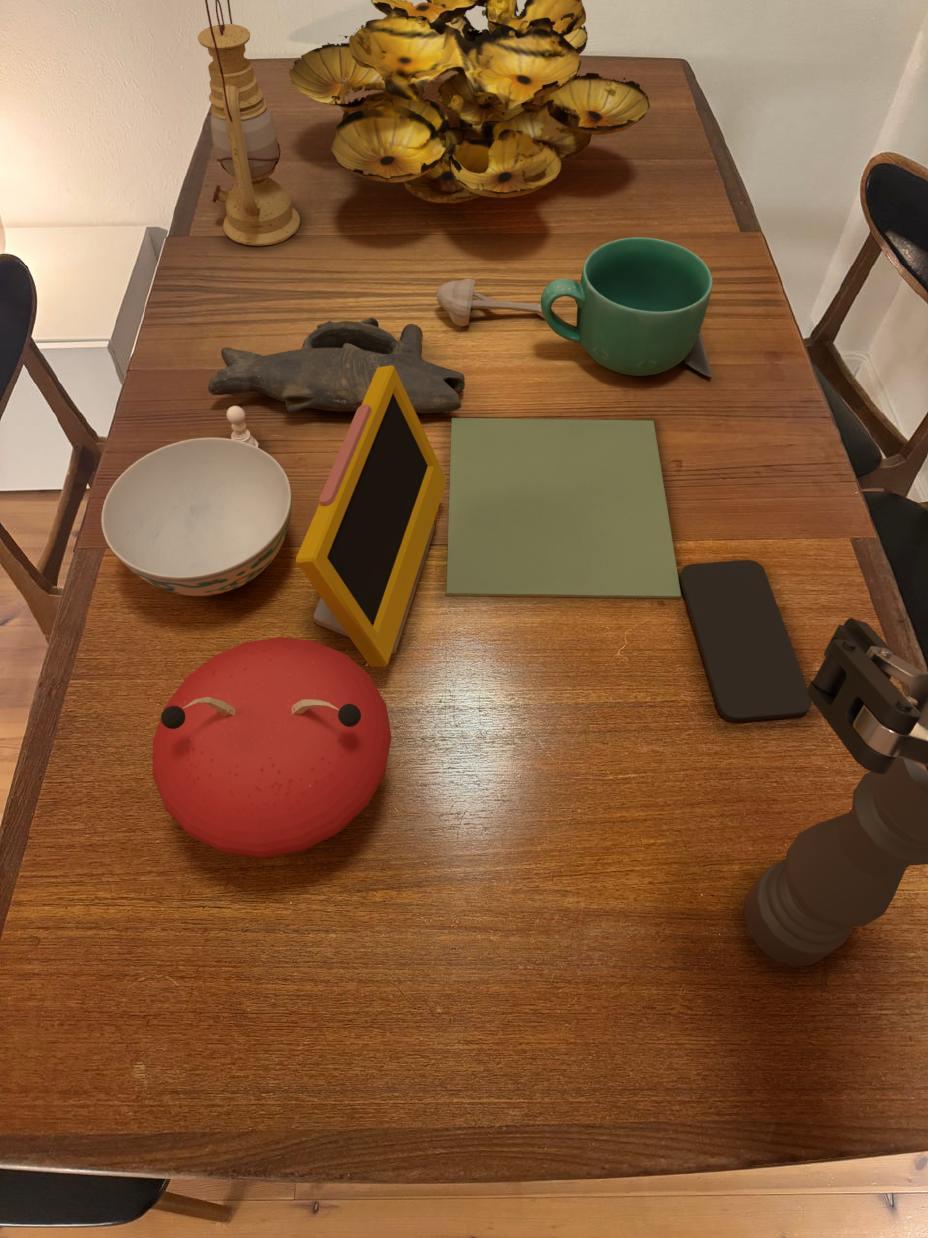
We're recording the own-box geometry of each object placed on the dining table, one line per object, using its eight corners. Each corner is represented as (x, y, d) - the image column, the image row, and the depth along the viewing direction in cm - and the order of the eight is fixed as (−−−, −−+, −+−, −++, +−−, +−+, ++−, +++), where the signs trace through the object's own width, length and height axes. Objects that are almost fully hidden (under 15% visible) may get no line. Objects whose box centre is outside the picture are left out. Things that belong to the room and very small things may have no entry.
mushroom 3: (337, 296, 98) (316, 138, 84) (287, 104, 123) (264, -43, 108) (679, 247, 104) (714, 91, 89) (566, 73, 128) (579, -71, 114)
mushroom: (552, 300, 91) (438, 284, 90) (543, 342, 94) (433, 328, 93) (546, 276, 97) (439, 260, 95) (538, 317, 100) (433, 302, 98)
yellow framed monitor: (390, 690, 69) (373, 568, 56) (295, 671, 70) (258, 547, 57) (448, 505, 80) (445, 368, 67) (365, 491, 81) (347, 353, 68)
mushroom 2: (167, 898, 60) (91, 816, 48) (198, 697, 69) (141, 583, 56) (397, 890, 60) (381, 806, 48) (398, 691, 69) (385, 577, 57)
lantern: (225, 197, 109) (156, -102, 84) (303, 196, 109) (258, -102, 85) (212, 254, 102) (133, -53, 78) (296, 252, 103) (244, -54, 78)
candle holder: (821, 984, 57) (1027, 852, 36) (730, 936, 59) (878, 784, 38) (846, 901, 60) (1050, 735, 39) (760, 858, 62) (911, 677, 41)
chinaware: (295, 487, 82) (281, 425, 75) (314, 616, 73) (300, 559, 67) (131, 512, 80) (102, 451, 73) (131, 648, 71) (99, 592, 65)
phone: (722, 719, 67) (677, 564, 75) (720, 724, 68) (675, 570, 76) (816, 711, 67) (761, 558, 76) (813, 716, 68) (758, 564, 76)
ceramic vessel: (459, 396, 81) (474, 313, 91) (195, 371, 82) (238, 291, 92) (457, 440, 85) (472, 355, 95) (205, 416, 86) (246, 335, 96)
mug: (684, 316, 96) (704, 236, 88) (699, 393, 89) (722, 314, 81) (534, 313, 96) (540, 234, 89) (537, 390, 89) (544, 311, 81)
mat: (652, 423, 87) (653, 420, 86) (680, 598, 74) (681, 596, 74) (451, 420, 87) (451, 417, 86) (446, 595, 75) (446, 593, 74)
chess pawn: (223, 448, 84) (210, 409, 80) (246, 433, 86) (235, 394, 81) (241, 463, 83) (230, 424, 79) (264, 448, 84) (254, 408, 80)
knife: (665, 297, 98) (666, 291, 97) (700, 296, 98) (702, 291, 97) (684, 380, 90) (686, 375, 89) (723, 380, 90) (725, 374, 90)
